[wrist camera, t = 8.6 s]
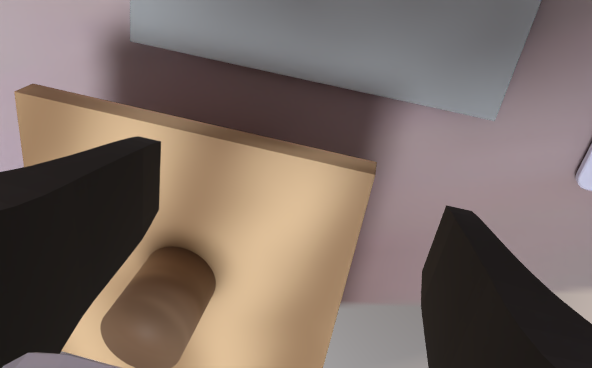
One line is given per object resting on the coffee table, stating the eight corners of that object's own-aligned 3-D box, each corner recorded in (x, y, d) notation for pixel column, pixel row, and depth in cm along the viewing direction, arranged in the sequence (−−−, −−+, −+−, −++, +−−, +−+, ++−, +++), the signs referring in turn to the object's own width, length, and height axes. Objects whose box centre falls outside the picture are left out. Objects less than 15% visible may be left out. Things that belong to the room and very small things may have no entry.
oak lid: (376, 162, 17) (368, 232, 13) (312, 401, 24) (293, 496, 20) (32, 83, 18) (-68, 127, 14) (59, 331, 25) (-5, 408, 21)
